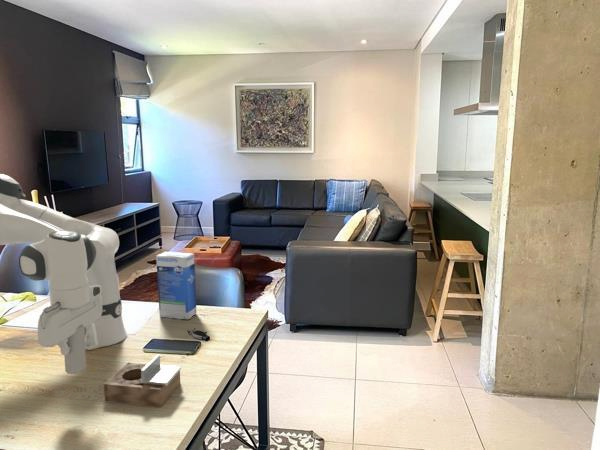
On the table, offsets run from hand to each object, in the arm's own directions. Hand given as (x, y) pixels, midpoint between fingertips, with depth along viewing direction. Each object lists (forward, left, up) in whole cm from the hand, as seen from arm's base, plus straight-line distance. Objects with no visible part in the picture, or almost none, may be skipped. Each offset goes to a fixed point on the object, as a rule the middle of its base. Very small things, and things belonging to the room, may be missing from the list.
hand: (74, 348), depth 112 cm
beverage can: (0, 0, -6) cm, 6 cm away
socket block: (+13, +10, -17) cm, 23 cm away
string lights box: (-2, +65, -17) cm, 67 cm away
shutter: (+18, +10, -11) cm, 24 cm away
